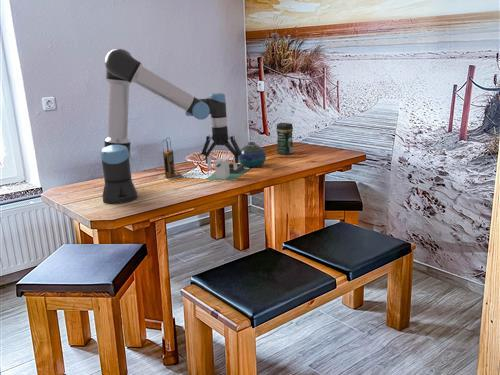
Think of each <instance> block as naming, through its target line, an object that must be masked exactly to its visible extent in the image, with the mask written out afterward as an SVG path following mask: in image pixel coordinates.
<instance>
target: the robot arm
mask: <svg viewBox="0 0 500 375" xmlns="http://www.w3.org/2000/svg"><path fill="white" fill-rule="evenodd" d="M104 65H105V80H106V81H107V82H108V86H109V87H108V88H109V92H108V121H107V123H108V124H107V126H108V130H107V132H108V133H107V137H106V138H105V139H104V146H103V147H102V149H101V150H100V158H101V164H102V174H103V181H104V186H103V191H102V202H103V203H106V204H113V205H114V204H116V205H117V204H125V203H129V202H133V201H134V200H136V199H138V198H139V197H138V191H137V189H136V187H135V184H134V183H133V180H132V171H131V156H132V154H131V140H130V139H129V138H128V131H129V102H130V85H131V84H136V85H138V86H140V87H142V88H144V89H145V90H147V91H148V92H150V93H153V94H154V95H156V96H157V97H160V98H161V99H163V100H165V101H166V102H168V103H169V104H172V105H174V107H177V108H179V109H181V110H182V111H184V112H185V116H187V117H194V118H195V119H196V120H206V119H207V118H208V117H209V115H210V120H211V121H210V122H211V123H210V124H211V126H212V127H211V133H212V134H211V135H212V136H211V135H207V136H206V137H205V143H204V146H203V148H202V150H201V155H202V156H205V163H207V169H208V170H210V169H212V157H211V153H212V151H213V150H214V148H215V147H216V146H225V148H227V149H228V150H229V152H230V153H231V154H232V155H233V156H232V161H233V162H232V164H233V165H234V170H236V169H237V164H239V160H238V156H239V155H241V154H242V152H241V150H240V149H241V148H240V147H239V145H238V143H237V140H236V138H235V135H231V136H229V129H228V117H227V102H226V101H227V100H226V95H225V93H223V92H213V93H209V97H208V98H197V97H195V96H193V95H192V94H191V93H189V92H187V91H185V90H183V89H182V88H180V87H178V86H176V85H175V84H173V83H171V82H170V81H169V80H166V79H164V78H163V77H161V76H160V75H158V74H157V73H154V72H153V71H151V70H149V69H148V68H146V67H144V66H143V64H142V62H140V61H139V60H137V59H136V58H134V57H133V56H132V54H131V53H130V52H129V51H127V50H125V49H124V48H123V49H122V48H115V49H112V50H110V51H109V52H107V54H106V56H105V59H104ZM211 141H212V144H211V145H210V142H211ZM229 141H230V142H229ZM231 144H232V145H231ZM209 145H210V147H209ZM208 147H209V148H208Z"/></svg>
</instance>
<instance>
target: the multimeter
mask: <svg viewBox="0 0 500 375" xmlns="http://www.w3.org/2000/svg"><path fill="white" fill-rule="evenodd" d="M168 139H169V142H168ZM164 141H165V142H166V151H165V150H164V149H162V156H163V165H164V167H163V168H164V175H165V176H164V177H165V178H167V180H170V181H172V180H176V179H179V178H180V177H182V178H183V177H185V176H184V175H181V174H180V172H177V171H176V169H175V160H174V159H175V157H174V150H173V149H170V148H172V144H171V142H172V141H171V138H170V137H166V138H165V139H163V140H162V142H164ZM169 145H170V148H169ZM175 174H177V176H176V177H174V178H172V177H173V176H174V175H175Z"/></svg>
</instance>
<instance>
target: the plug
mask: <svg viewBox="0 0 500 375" xmlns="http://www.w3.org/2000/svg"><path fill="white" fill-rule="evenodd" d="M229 160H230V158H228V157H227V158H226V157H219V158H217V159H216V160H214V171H215V172H214V173H215V174H216V179H226V178H228V177H229V176H230V171H229V164H230V161H229Z"/></svg>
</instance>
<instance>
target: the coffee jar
mask: <svg viewBox="0 0 500 375" xmlns="http://www.w3.org/2000/svg"><path fill="white" fill-rule="evenodd" d="M293 130H294V127H293V124H292V123H290V122H279V123H277V124H276V132H277V133H276V135H277V143H276V144H277V145H276V152H277V154H279V155H291V154H293V153H294V143H293Z"/></svg>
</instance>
